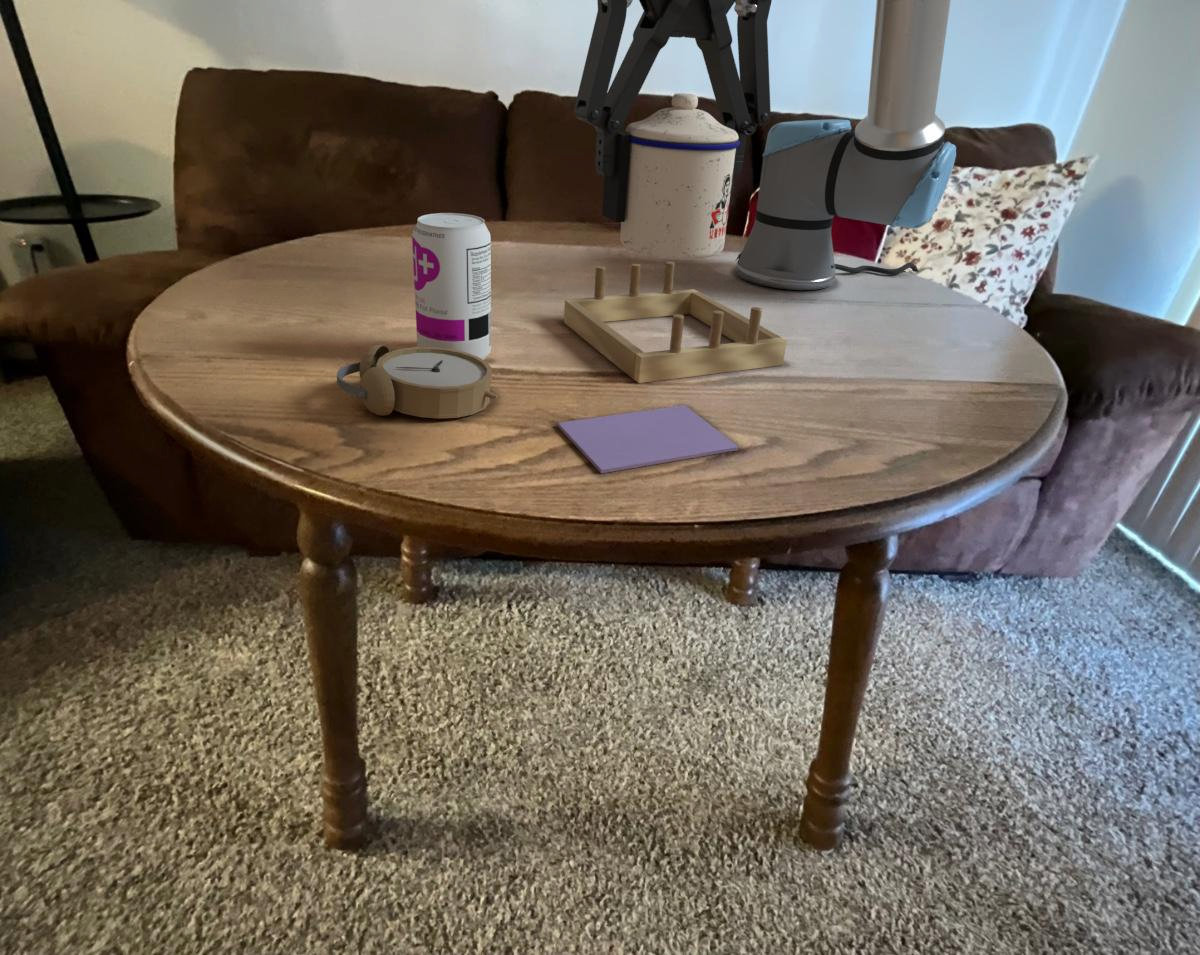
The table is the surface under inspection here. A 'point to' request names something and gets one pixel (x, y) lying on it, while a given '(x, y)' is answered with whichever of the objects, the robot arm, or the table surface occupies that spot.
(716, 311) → the rack
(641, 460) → the mat
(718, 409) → the table surface
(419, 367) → the alarm clock
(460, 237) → the supplement can
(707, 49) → the robot arm
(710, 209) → the teacup with lid
